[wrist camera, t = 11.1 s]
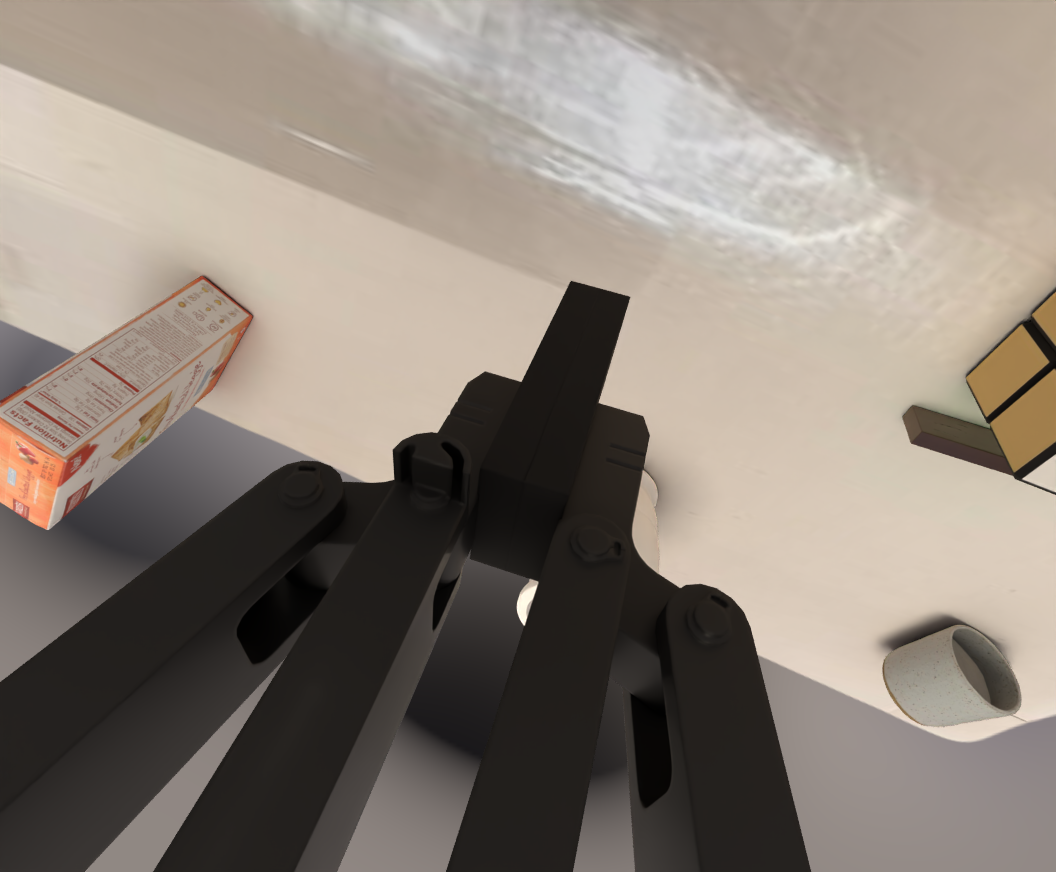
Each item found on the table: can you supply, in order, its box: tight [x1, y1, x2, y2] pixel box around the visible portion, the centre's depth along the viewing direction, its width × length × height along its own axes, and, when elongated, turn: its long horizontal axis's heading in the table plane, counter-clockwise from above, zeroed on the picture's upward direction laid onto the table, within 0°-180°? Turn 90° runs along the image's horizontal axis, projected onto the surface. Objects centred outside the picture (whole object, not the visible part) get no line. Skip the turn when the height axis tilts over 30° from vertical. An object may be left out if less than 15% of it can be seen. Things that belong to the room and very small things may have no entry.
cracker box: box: [0, 276, 253, 530], centre depth 49 cm, size 14×6×21 cm, turn 139°
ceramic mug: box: [883, 625, 1021, 727], centre depth 52 cm, size 11×8×8 cm
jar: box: [517, 470, 659, 626], centre depth 48 cm, size 11×10×15 cm
